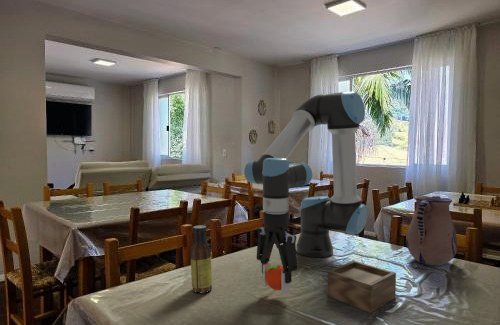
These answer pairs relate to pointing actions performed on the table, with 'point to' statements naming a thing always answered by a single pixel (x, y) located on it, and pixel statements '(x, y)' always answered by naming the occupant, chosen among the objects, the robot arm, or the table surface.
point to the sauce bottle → (201, 261)
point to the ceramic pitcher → (432, 231)
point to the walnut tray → (361, 285)
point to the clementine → (274, 277)
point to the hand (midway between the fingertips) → (276, 288)
